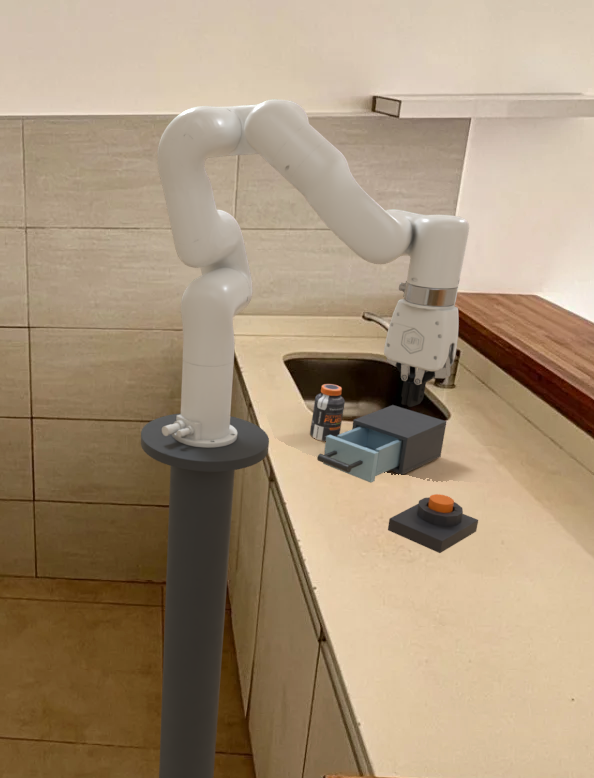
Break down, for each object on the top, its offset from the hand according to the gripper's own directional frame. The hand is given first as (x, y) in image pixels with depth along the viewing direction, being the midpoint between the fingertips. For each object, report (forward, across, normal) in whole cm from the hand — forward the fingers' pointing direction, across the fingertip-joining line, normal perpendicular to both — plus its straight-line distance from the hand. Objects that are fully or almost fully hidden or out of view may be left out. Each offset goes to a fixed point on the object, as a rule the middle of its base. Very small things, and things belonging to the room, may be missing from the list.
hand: (410, 403), depth 127 cm
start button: (+15, +9, -2) cm, 18 cm away
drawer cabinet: (+19, -11, +18) cm, 28 cm away
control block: (+18, +9, -4) cm, 21 cm away
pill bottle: (+19, -26, +15) cm, 35 cm away
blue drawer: (+18, -11, +6) cm, 22 cm away
